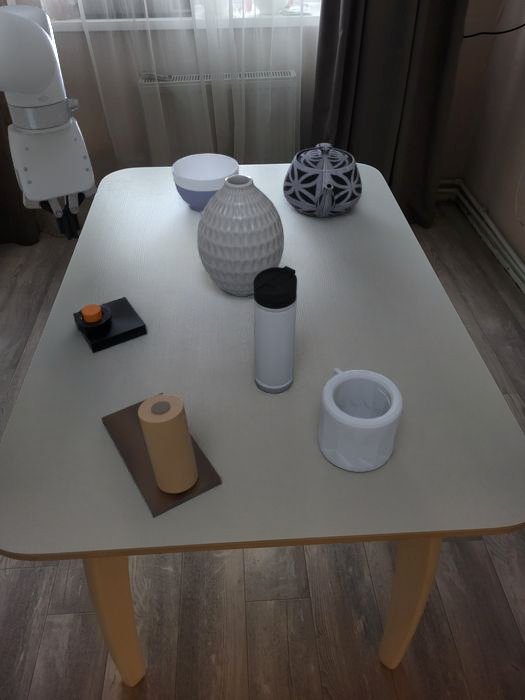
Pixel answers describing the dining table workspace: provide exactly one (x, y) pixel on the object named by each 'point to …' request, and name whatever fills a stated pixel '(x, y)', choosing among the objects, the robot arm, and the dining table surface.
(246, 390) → the dining table surface
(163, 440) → the paper roll
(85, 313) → the button
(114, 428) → the holder
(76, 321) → the button box
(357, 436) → the mug
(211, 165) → the bowl
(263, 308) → the travel mug
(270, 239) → the vase
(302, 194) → the teapot
